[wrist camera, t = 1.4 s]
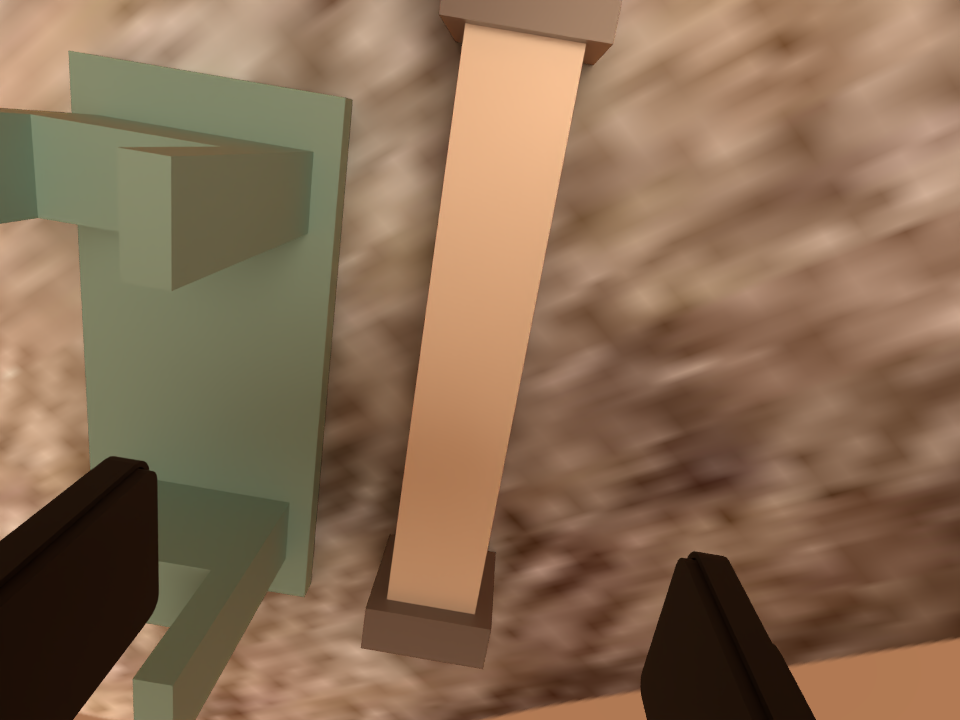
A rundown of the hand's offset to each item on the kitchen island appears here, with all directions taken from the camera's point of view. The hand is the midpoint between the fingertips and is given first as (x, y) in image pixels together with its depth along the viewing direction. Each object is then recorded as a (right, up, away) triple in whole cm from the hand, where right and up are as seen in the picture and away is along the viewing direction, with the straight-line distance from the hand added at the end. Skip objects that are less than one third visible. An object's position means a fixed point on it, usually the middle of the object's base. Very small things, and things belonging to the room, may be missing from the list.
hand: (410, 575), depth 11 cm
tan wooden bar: (+1, +5, +15) cm, 16 cm away
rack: (-10, +4, +16) cm, 19 cm away
